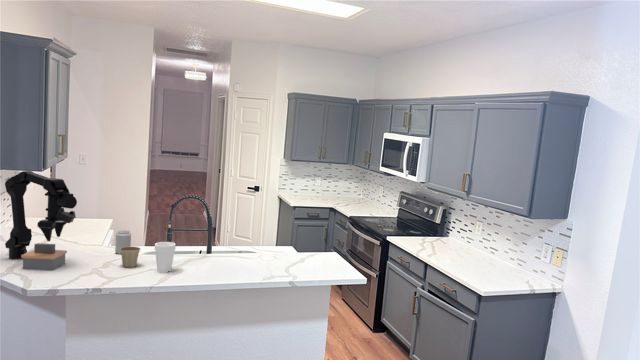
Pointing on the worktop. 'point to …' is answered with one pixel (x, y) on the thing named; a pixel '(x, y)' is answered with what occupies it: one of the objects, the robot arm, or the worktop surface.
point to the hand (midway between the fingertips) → (53, 239)
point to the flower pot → (129, 256)
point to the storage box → (43, 263)
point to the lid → (44, 252)
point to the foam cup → (164, 255)
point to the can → (122, 240)
